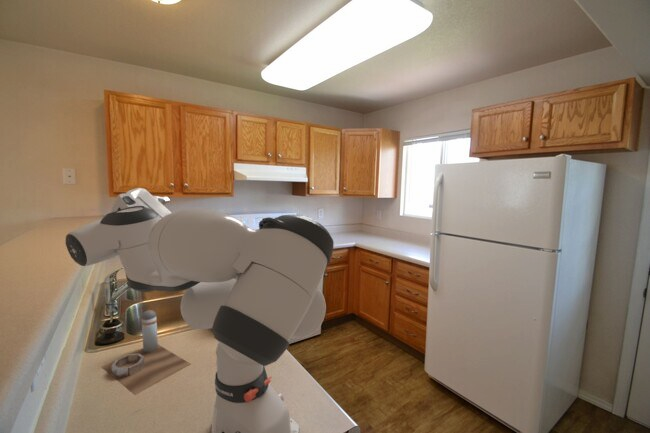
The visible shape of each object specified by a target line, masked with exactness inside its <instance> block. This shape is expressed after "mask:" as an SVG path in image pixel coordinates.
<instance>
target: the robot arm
mask: <svg viewBox="0 0 650 433" xmlns="http://www.w3.org/2000/svg"><path fill="white" fill-rule="evenodd" d="M170 202H171V199H170V198H169V196H167V195H166V196H157V195H153V194H151V193H150V192H149V191H148V190H147V189H145V188H142V187H136V188H133V189H130V190H127V191H126V192H125V193H120V194H118V196H117V197H116V198H115V200H114V203H113V204H112V207H111V211H110V212H109V213H107V214H105V215H104V216H103V217H102V218H100V219H97V220H94V221H91V222H88V223H86V224H84V225H81V226H79V227H77V228H75V229H73V230H72V231H70V232H68V233H67V234H66V236H65V242H64V244H65V246H66V249H67V251H68V254H69V255H70V258H71V259H72V260H73V261H74V262H75V263H76V264H78V265H79V266H82V267H88V266H92V265H95V264H99V263H102V262H104V261H106V260H110V259H114V258H115V257H119V259H120V263H121V265H122V268H123V270H124V273H125V277H126V280H127V284H128V287H129V288H130V289H132V290H133V291H134V290H135V291H136V292H139V293H149V292H153V291H158V292H167V293H168V292H171V293H172V292H174V293H176V292H181V291H182V292H183V291H184V292H183V295H182V297H181V301H180V313H181V316H182V318H183V321H184V322H185V323H186V325H187V326H189V327H190V328H191V329H193V330H198V331H199V330H207V329H211V330H212V334H213V339H215V340H217V345H216V350H215V351H216V372H215V374H214V375H215V376H214V377H215V379H214V386H215V388H214V389H215V393H216V398H215V401H214V406H213V411H212V422H211V423H212V424H211V428H210V429H211V433H301V432H300V429H301V428H300V424H299V423H297V422H296V421H295V419H293V418H292V417H291V416H290V412H289V409H288V406H287V404H286V403H285V402H284V400H285V399H284V395H283V394H282V393H281V392H279V393H277V392H276V390H275V389H274V388H273V387H272V385H271V384H270V383H271V382H272V376H269V377H268V374H267V369H266V368H265V367H266V366H269V365H271V364H273V363H276V362H277V361H278V360H279V359H280V358H281V357H282V355H283V354H284V353H285V352H286V351H287V349H288V348H289V347H290V345H291V344H290V340H291V339H302V338H306V337H309V336H310V335H313V334H314V333H316V331H318V329H319V328H320V327H321V325H322V324H323V322H324V319H325V316H326V312H327V306H326V305H327V304H326V300H325V296H324V294H323V292H322V291H321V289H320V288H319V287H320V284H321V282H322V279H323V276H324V274H325V270H326V268H327V266H329V265H330V263H331V260H332V255H333V251H334V246H335V245H334V244H335V243H334V239H333V238H332V235H331V234H330V232H329V230H328V229H327V228H325V226H324V225H322V224H321V223H320V222H319V221H317V220H315V219H313V218H311V217H308V216H307V215H303V214H284V215H283V214H282V215H279V216H276V217H275V218H273V217H268V216H267V217H265V218H263V219H262V220H260V221H259V223H258V229H252V228H250V227H248V226H247V225H246V224H245V223H244V222H243V221H241V220H240V219H238V218H236V217H234V216H232V215H229V214H227V213H224V212H221V211H216V210H211V209H204V208H187V209H185V208H184V209H181V210H176V211H173V212H171V211H170V209H168V208H167V207H166V206H165V205H168V204H169V203H170Z"/></svg>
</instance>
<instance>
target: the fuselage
mask: <svg viewBox="0 0 650 433" xmlns="http://www.w3.org/2000/svg"><path fill="white" fill-rule="evenodd" d="M157 322H158V319H157V313H156V312H155V311H154V310H151V309H148V310H145V311H144V312H143V313H142V314H141V321H140V323H141V333H142V334H141V335H142V349H143V351H144V352H146V353H149V352H153V351H155V350H157V349H158V345H159V341H158V339H159V338H158V323H157Z"/></svg>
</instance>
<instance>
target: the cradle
mask: <svg viewBox="0 0 650 433" xmlns="http://www.w3.org/2000/svg"><path fill="white" fill-rule="evenodd" d="M114 361H115V362H114V363H113V364H112V374H113V375H115V376H116V377H125V376H130V375H132V374H134V373H136V372H138V371H140V370H141V369H142V368H143V366H144V364H145V361H144V356H143V355H141V354H139V353H137V354H132V353H129V354H126V355H123V356H121V357H119V358H117V359H115V360H114ZM131 362H138V363H136V364H134V365H132V366H130V367H124V368H119V367H120V366H123V365H125V364H127V363H131Z"/></svg>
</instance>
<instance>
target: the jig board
mask: <svg viewBox="0 0 650 433" xmlns="http://www.w3.org/2000/svg"><path fill="white" fill-rule="evenodd" d="M137 353H139V354H141V355H143V356H144V361H145V364H144V366H143V368H142V369H141V370H140V371H138V372H136V373H134V374H132V375H130V376H125V377H116V376H115V375H113V374H112V364H113V363H114V362H115V361H116V360H114V361H112V362H109V363H107V364H104V365H102V366H101V368H102V369H103V370H104V371H106V373H108V374H109V375H111V376H112V377H113V379H115V380H116V381H117V382H119V383H120V384H121V385H122V386H123V387H125V388H126V389H127V390H128V391H129V392H131V393H132V394H133V395H134V396H135V395H138V394H140V393H141V392H143V391H145V390H147V389H149V388H150V387H152V386H154V385H156V384H158V383H159V382H161V381H164V380H165V379H167V378H169V377H171V376H172V375H174V374H176V373H177V372H180V371H181V370H183V369H185V368H187V367H188V366H191V363H190V362H188V361H187V360H185V359H184V358H182V357H180V356H178V355H176V354H175V353H173V352H172V351H170V350H168V349H166V348H165V347H164V346H161V345H160V344H158V349H157V350H155V351H153V352H149V353H146V352H144V351H143V348H140V349H138V350H136V351H134V352H132V353H131V354H137ZM136 363H138V362H131V363H127V364H125V365H123V366H120V367H119V368H124V367H130V366H132V365H134V364H136Z"/></svg>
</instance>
